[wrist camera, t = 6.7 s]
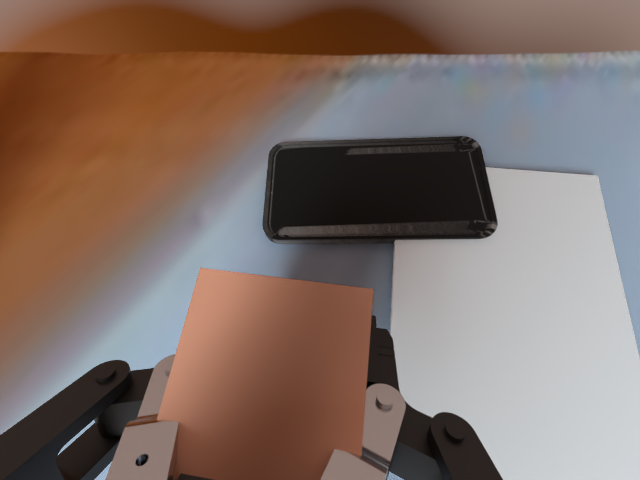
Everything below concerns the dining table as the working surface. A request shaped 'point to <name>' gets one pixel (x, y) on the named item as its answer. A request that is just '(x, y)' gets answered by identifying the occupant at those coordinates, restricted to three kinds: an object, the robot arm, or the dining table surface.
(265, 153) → the dining table surface
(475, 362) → the mat
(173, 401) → the block
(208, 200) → the dining table surface
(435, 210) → the phone
